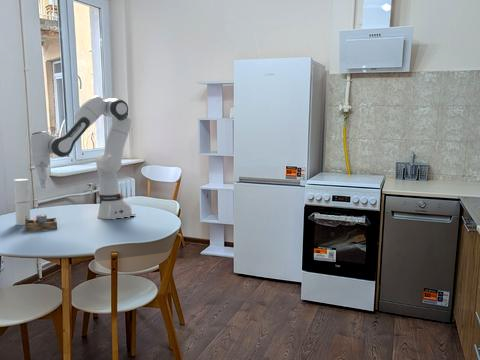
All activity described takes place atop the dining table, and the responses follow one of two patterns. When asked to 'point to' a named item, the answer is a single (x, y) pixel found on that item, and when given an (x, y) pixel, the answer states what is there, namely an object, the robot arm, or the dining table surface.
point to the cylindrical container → (21, 200)
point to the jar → (41, 218)
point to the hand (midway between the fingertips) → (42, 186)
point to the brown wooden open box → (40, 225)
